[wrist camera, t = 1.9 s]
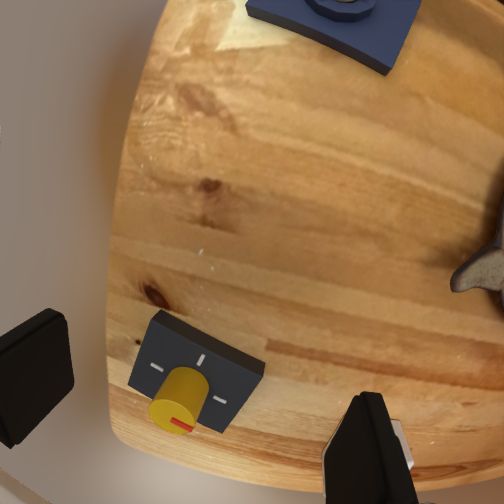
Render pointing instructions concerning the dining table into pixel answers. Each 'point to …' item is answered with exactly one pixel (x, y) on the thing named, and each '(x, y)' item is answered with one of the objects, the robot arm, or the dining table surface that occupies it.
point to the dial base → (196, 367)
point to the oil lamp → (484, 265)
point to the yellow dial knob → (179, 400)
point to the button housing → (346, 25)
